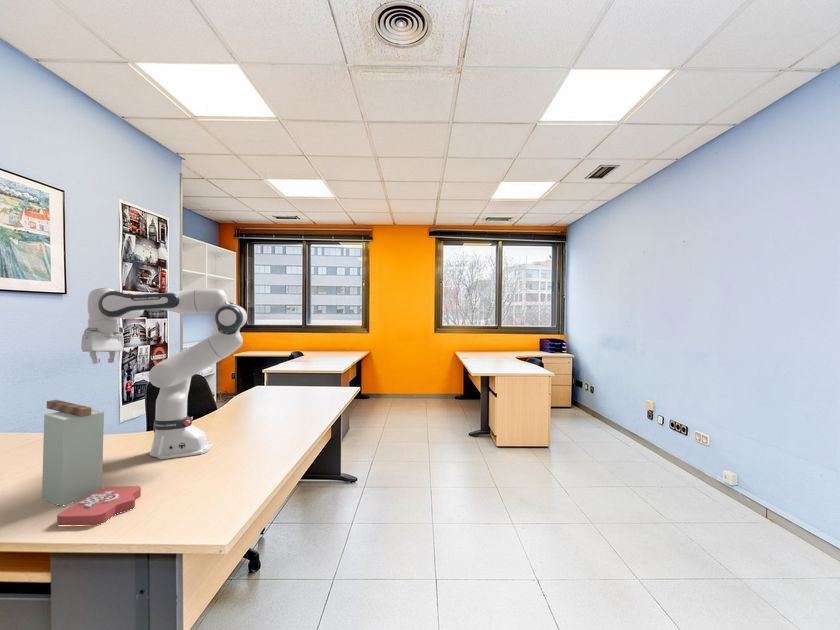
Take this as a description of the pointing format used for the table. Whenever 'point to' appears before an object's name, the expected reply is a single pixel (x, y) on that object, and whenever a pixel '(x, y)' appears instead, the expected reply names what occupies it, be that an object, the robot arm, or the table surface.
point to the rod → (69, 408)
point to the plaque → (100, 506)
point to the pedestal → (72, 456)
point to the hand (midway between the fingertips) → (104, 363)
